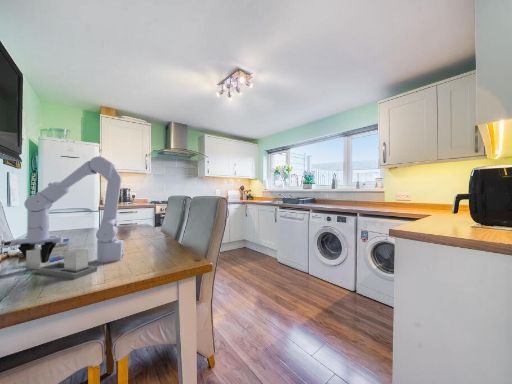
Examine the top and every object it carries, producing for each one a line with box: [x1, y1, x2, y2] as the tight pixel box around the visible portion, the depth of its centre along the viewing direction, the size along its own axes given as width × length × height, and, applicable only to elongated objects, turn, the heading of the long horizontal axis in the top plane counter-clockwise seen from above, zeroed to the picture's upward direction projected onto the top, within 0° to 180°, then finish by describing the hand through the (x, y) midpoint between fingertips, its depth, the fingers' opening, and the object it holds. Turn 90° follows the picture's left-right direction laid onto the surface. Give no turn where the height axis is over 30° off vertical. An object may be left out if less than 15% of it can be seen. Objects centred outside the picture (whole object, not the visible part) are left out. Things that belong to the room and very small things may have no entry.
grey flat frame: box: [35, 261, 98, 280], centre depth 75 cm, size 18×7×2 cm, turn 75°
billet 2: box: [63, 248, 89, 273], centre depth 74 cm, size 6×4×8 cm
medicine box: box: [40, 237, 70, 264], centre depth 92 cm, size 8×4×9 cm, turn 168°
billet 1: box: [25, 245, 50, 271], centre depth 80 cm, size 6×4×8 cm
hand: (37, 262), depth 80 cm, fingers closed on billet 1, 4 cm apart
